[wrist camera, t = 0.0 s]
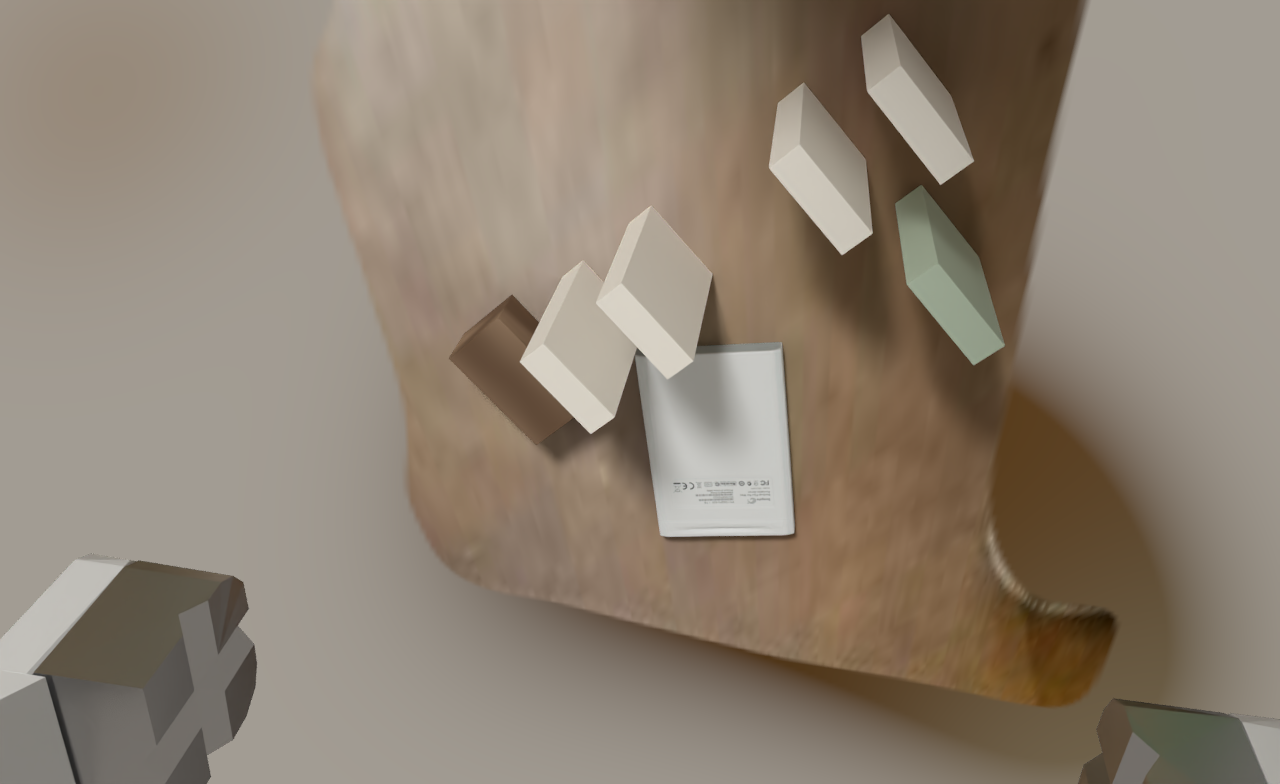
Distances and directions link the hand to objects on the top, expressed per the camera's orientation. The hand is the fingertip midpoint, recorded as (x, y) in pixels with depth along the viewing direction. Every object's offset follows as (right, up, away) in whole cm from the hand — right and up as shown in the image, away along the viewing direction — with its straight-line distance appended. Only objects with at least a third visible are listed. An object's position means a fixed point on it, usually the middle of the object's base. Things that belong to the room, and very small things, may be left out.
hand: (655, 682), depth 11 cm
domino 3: (+9, +16, +45) cm, 49 cm away
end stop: (-6, +5, +54) cm, 55 cm away
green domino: (+15, +11, +47) cm, 51 cm away
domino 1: (-2, +8, +52) cm, 52 cm away
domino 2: (+1, +10, +50) cm, 51 cm away
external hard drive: (+4, 0, +56) cm, 56 cm away
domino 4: (+13, +18, +43) cm, 49 cm away
